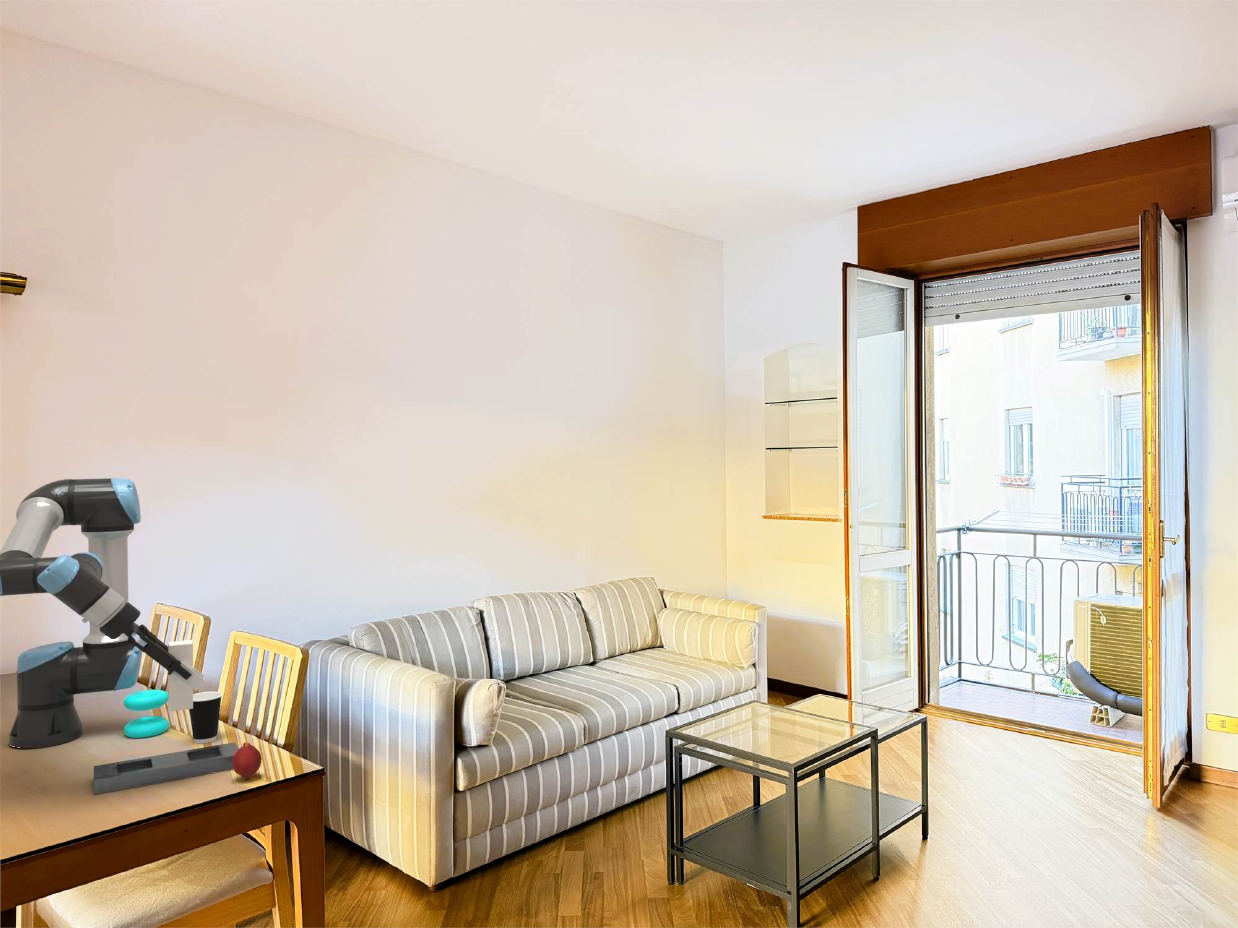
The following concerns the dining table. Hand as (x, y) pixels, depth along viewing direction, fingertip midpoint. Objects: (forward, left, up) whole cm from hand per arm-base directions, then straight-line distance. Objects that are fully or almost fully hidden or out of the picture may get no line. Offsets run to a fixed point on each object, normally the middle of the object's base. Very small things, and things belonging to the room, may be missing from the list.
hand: (199, 682), depth 184 cm
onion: (+11, -5, -20) cm, 23 cm away
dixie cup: (-7, +24, -20) cm, 32 cm away
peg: (-4, -1, -5) cm, 6 cm away
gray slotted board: (-7, +1, -20) cm, 21 cm away
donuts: (-24, +33, -20) cm, 46 cm away
